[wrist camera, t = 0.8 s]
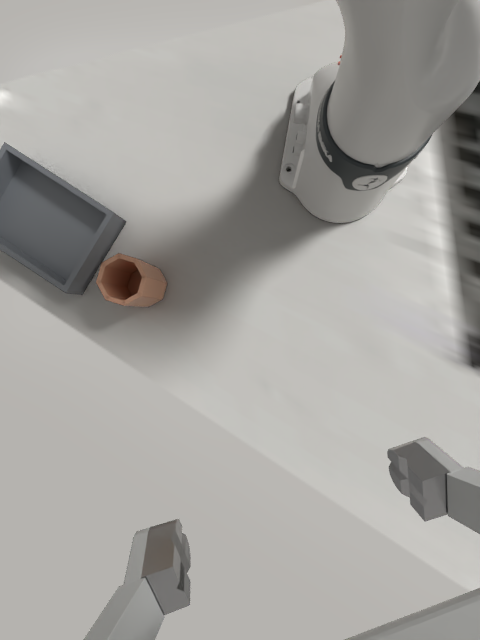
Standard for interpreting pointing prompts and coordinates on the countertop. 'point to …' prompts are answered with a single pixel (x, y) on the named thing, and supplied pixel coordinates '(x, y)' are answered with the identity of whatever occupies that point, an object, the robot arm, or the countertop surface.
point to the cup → (130, 281)
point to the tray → (52, 223)
